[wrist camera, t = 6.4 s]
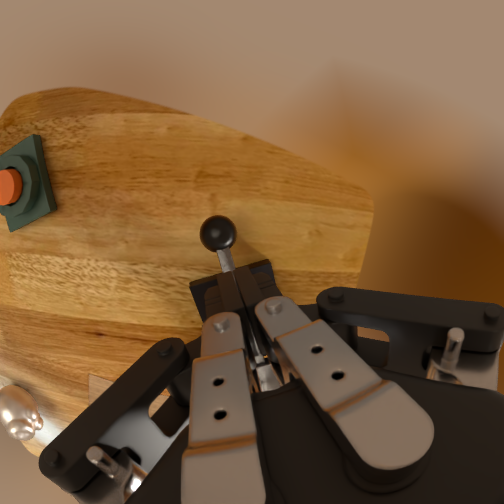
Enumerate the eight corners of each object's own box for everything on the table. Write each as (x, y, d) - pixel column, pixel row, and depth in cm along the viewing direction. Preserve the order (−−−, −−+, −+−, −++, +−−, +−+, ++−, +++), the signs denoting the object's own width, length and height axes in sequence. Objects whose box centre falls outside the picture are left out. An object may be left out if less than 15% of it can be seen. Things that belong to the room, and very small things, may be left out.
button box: (0, 160, 21) (-16, 161, 17) (40, 134, 21) (24, 132, 18) (17, 229, 24) (1, 236, 20) (57, 209, 24) (42, 214, 21)
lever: (197, 226, 25) (193, 216, 22) (231, 216, 26) (230, 205, 23) (249, 391, 23) (251, 403, 20) (282, 380, 24) (289, 391, 20)
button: (-2, 177, 19) (-11, 178, 17) (19, 163, 19) (9, 163, 18) (5, 207, 20) (-4, 210, 18) (26, 195, 20) (17, 197, 19)
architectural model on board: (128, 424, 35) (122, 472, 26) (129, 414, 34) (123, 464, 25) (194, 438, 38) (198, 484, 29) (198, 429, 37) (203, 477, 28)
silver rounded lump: (41, 418, 32) (27, 456, 23) (2, 386, 29) (-18, 422, 19) (55, 402, 31) (39, 446, 22) (12, 366, 28) (-12, 406, 19)
